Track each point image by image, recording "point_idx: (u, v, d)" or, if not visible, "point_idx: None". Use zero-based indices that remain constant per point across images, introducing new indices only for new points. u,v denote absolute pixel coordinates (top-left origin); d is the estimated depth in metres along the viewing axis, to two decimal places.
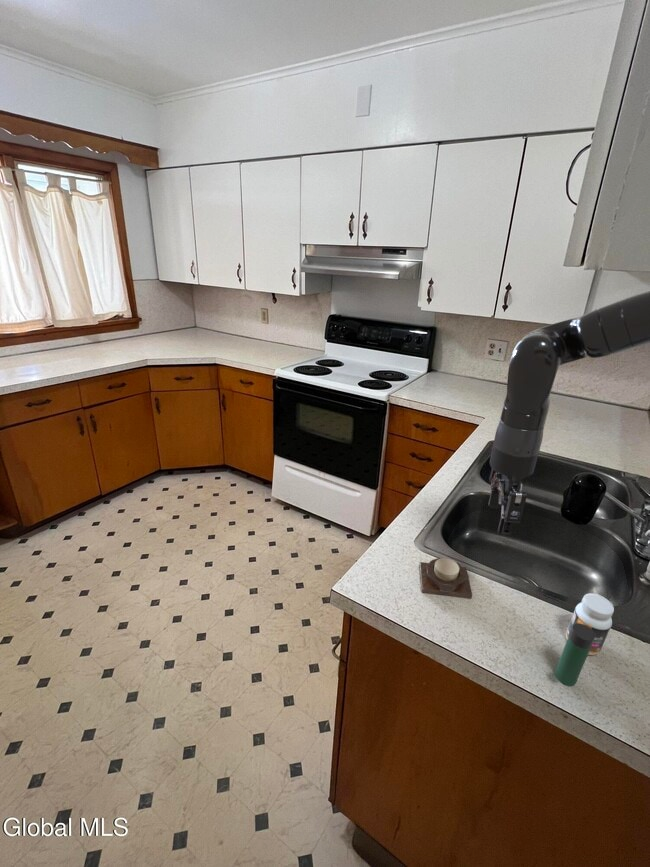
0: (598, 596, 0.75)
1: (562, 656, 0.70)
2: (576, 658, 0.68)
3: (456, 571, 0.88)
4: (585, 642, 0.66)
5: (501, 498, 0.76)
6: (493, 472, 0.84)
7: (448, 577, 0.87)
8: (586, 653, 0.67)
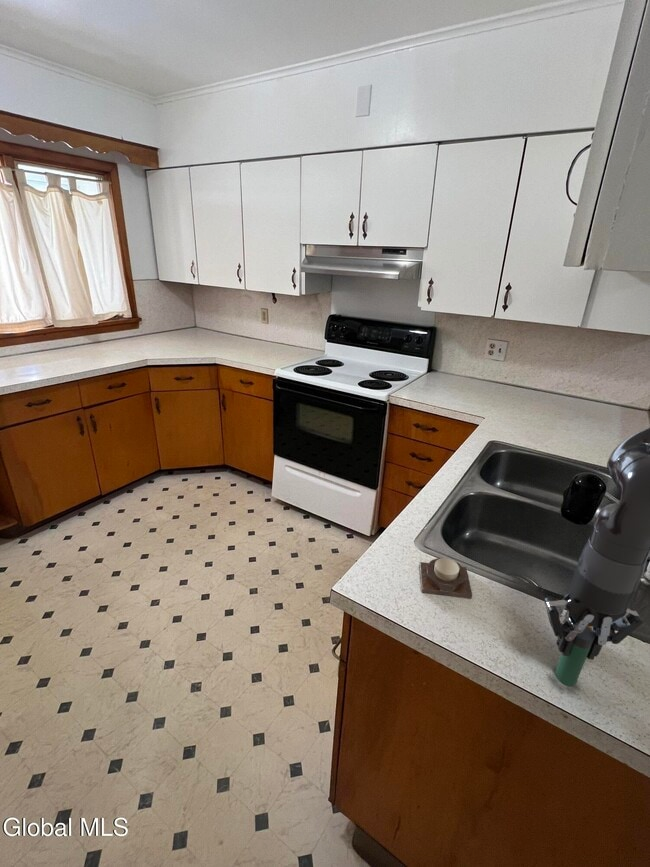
0: None
1: (562, 656, 0.70)
2: (576, 658, 0.68)
3: (456, 571, 0.88)
4: (585, 642, 0.66)
5: (568, 610, 0.68)
6: None
7: (448, 577, 0.87)
8: (586, 653, 0.67)
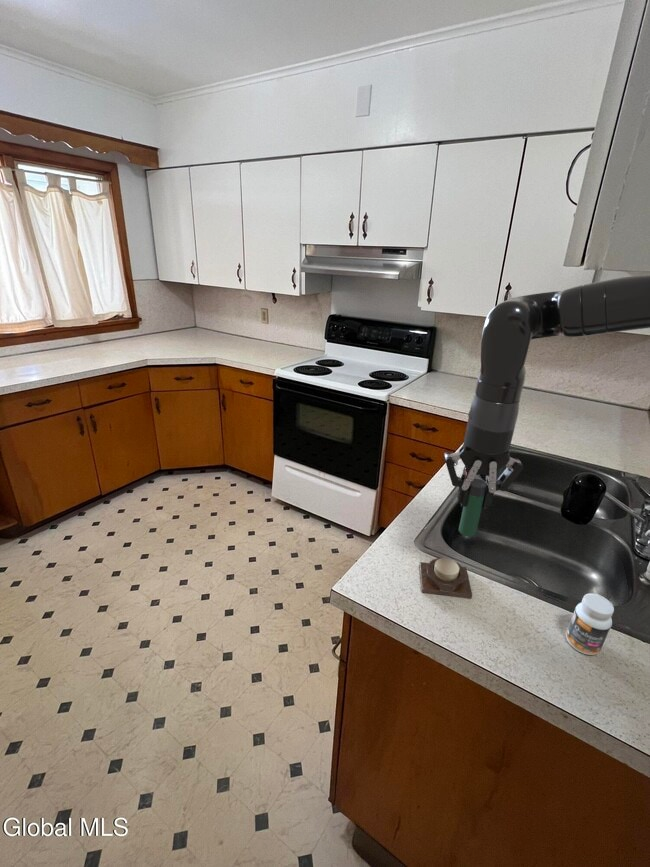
0: (598, 596, 0.75)
1: None
2: (471, 507, 0.78)
3: (456, 571, 0.88)
4: (478, 490, 0.76)
5: (465, 465, 0.78)
6: (504, 471, 0.77)
7: (448, 577, 0.87)
8: (480, 502, 0.77)
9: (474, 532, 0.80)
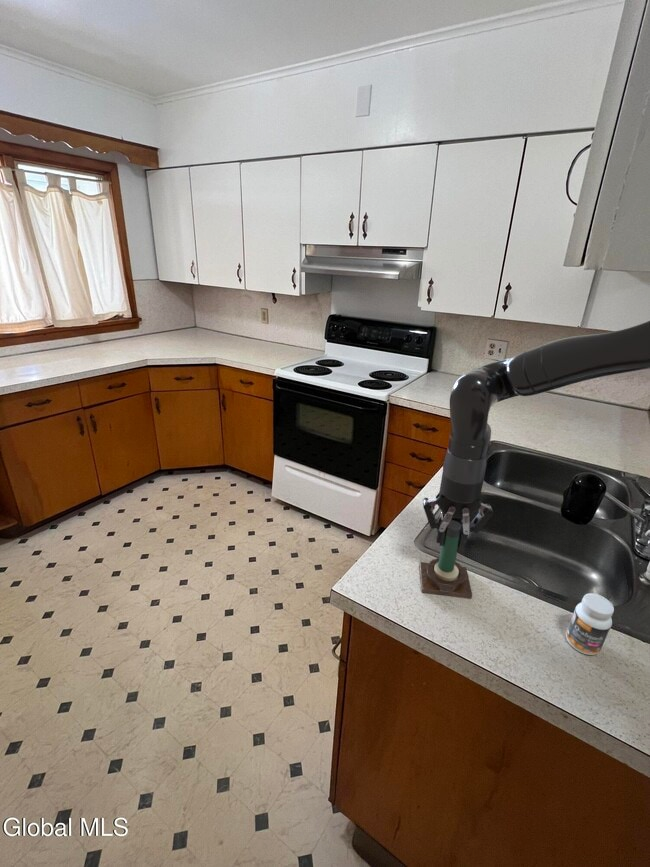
0: (598, 596, 0.75)
1: (441, 549, 0.88)
2: (448, 547, 0.86)
3: (455, 574, 0.88)
4: (453, 532, 0.84)
5: None
6: (477, 515, 0.85)
7: (448, 580, 0.88)
8: (455, 542, 0.85)
9: (452, 568, 0.88)
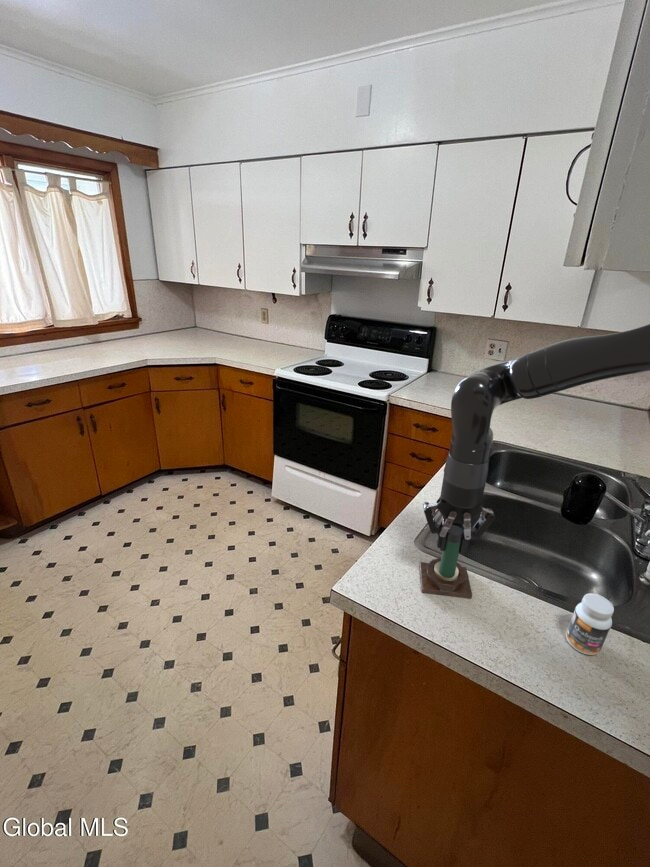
0: (598, 596, 0.75)
1: None
2: (449, 552, 0.85)
3: (455, 574, 0.88)
4: (454, 537, 0.83)
5: None
6: (479, 519, 0.83)
7: (448, 580, 0.88)
8: (456, 547, 0.84)
9: (453, 574, 0.87)
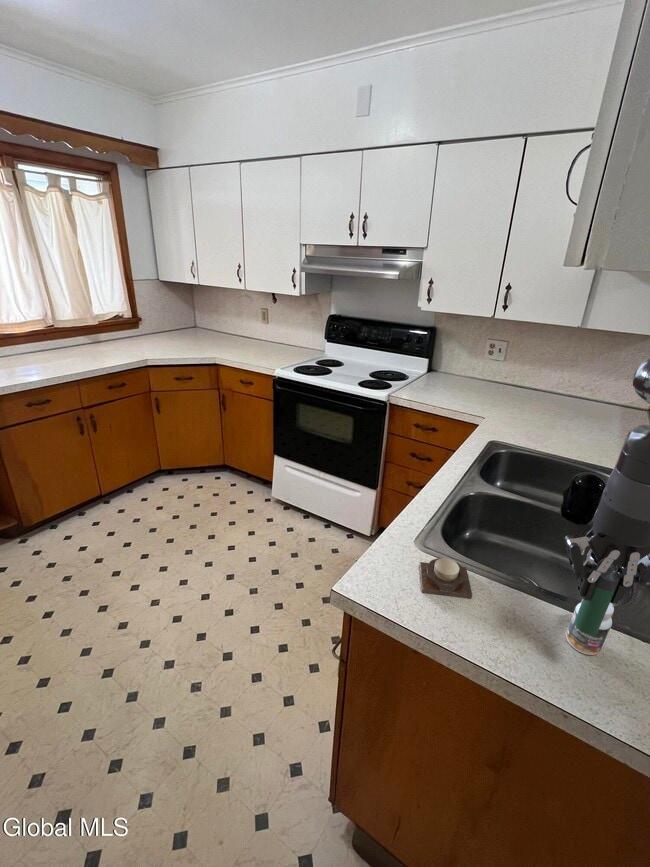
0: None
1: (582, 603, 0.65)
2: (599, 602, 0.62)
3: (456, 571, 0.88)
4: (609, 584, 0.61)
5: (590, 550, 0.62)
6: (641, 559, 0.61)
7: (448, 577, 0.87)
8: (610, 596, 0.62)
9: (597, 629, 0.65)
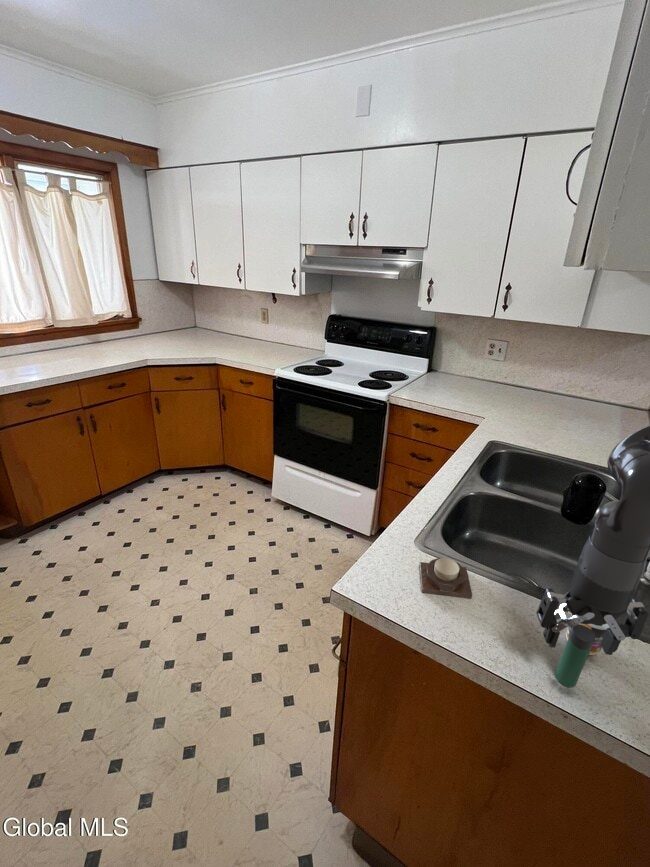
0: None
1: (562, 658, 0.70)
2: (576, 659, 0.67)
3: (456, 571, 0.88)
4: (585, 644, 0.66)
5: (563, 604, 0.67)
6: (627, 614, 0.66)
7: (448, 577, 0.87)
8: (586, 654, 0.67)
9: (575, 682, 0.70)
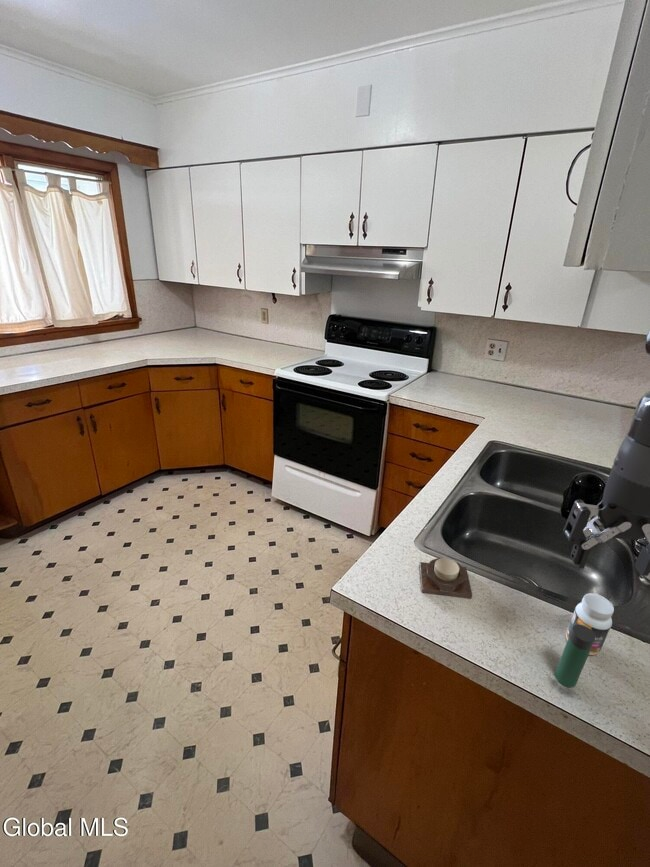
0: (598, 596, 0.75)
1: (562, 658, 0.70)
2: (576, 659, 0.67)
3: (456, 571, 0.88)
4: (585, 644, 0.66)
5: (593, 519, 0.60)
6: None
7: (448, 577, 0.87)
8: (586, 654, 0.67)
9: (575, 682, 0.70)
